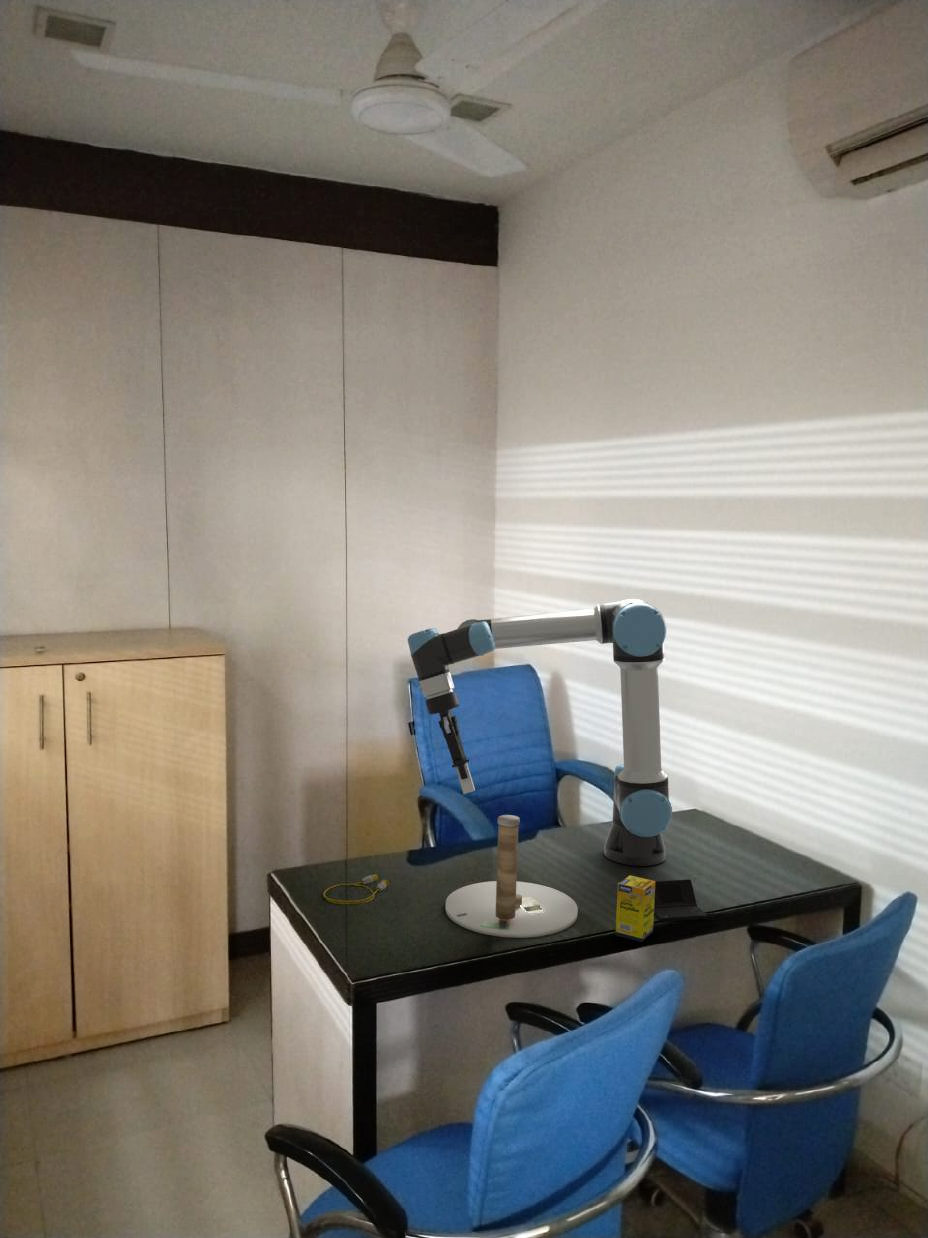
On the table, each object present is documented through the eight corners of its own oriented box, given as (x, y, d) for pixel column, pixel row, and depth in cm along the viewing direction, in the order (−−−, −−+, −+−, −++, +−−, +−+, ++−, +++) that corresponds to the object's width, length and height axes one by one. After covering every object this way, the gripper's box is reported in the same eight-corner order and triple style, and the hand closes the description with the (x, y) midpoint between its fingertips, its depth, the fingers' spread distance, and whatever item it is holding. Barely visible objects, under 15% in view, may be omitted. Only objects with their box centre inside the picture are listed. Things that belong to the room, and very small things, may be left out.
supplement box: (642, 943, 198) (645, 889, 197) (614, 935, 201) (617, 883, 200) (653, 933, 203) (656, 880, 202) (626, 926, 206) (628, 874, 205)
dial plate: (574, 889, 226) (574, 883, 226) (580, 941, 198) (581, 934, 198) (450, 883, 227) (450, 877, 227) (439, 933, 200) (439, 927, 199)
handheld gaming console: (666, 918, 207) (657, 871, 212) (648, 928, 212) (639, 882, 218) (712, 919, 211) (702, 873, 216) (693, 929, 217) (683, 884, 222)
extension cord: (401, 899, 218) (401, 890, 218) (332, 910, 211) (332, 901, 211) (379, 880, 229) (379, 872, 229) (313, 890, 222) (313, 882, 222)
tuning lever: (502, 898, 215) (505, 801, 213) (523, 900, 214) (526, 802, 212) (491, 927, 199) (495, 823, 197) (513, 930, 199) (517, 824, 196)
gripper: (427, 698, 241) (456, 792, 239) (421, 700, 228) (451, 800, 226) (457, 689, 240) (486, 783, 239) (452, 690, 227) (483, 791, 226)
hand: (469, 792), depth 232 cm, fingers closed
